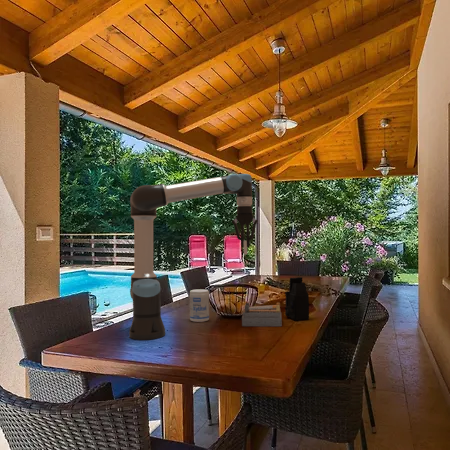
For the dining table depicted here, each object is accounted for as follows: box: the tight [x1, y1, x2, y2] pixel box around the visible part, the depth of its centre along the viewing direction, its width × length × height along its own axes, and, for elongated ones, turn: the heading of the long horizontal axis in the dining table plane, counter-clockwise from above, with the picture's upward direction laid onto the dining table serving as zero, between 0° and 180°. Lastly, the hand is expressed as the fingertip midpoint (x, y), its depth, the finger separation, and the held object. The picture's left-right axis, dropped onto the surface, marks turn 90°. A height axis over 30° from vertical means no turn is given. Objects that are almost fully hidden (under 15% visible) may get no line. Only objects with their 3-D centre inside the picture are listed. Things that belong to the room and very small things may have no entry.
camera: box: [284, 277, 310, 322], centre depth 208 cm, size 10×14×20 cm
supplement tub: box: [189, 288, 210, 323], centre depth 208 cm, size 10×10×15 cm
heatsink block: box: [241, 302, 283, 327], centre depth 199 cm, size 18×12×9 cm, turn 83°
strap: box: [248, 304, 276, 310], centre depth 199 cm, size 16×4×1 cm, turn 83°
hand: (245, 254), depth 207 cm, fingers closed
